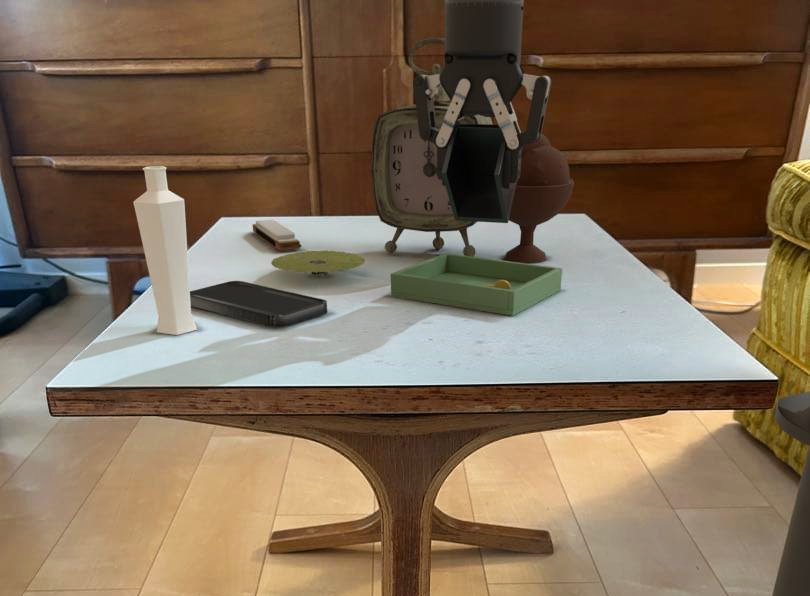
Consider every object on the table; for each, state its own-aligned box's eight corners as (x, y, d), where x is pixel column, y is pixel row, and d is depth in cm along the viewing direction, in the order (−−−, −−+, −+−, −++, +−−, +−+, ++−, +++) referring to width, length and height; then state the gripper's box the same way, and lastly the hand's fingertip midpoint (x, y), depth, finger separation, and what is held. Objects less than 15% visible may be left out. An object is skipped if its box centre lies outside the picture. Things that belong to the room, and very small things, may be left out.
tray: (560, 290, 100) (562, 268, 99) (512, 316, 91) (514, 291, 90) (445, 273, 107) (445, 252, 106) (390, 296, 98) (390, 273, 97)
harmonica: (301, 250, 119) (300, 235, 118) (279, 252, 118) (278, 237, 117) (273, 231, 131) (272, 217, 130) (253, 232, 130) (251, 218, 129)
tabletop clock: (373, 256, 116) (368, 38, 103) (393, 242, 123) (391, 37, 111) (480, 262, 112) (488, 37, 100) (494, 248, 120) (503, 37, 107)
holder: (518, 176, 97) (510, 124, 89) (508, 223, 96) (498, 174, 88) (465, 174, 99) (453, 123, 91) (454, 220, 97) (441, 172, 90)
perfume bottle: (146, 327, 88) (121, 166, 81) (189, 320, 90) (168, 163, 83) (160, 338, 85) (135, 172, 78) (204, 331, 87) (183, 168, 79)
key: (510, 279, 95) (509, 279, 95) (511, 295, 96) (510, 296, 95) (467, 282, 96) (467, 282, 96) (469, 298, 97) (468, 299, 97)
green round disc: (373, 267, 110) (372, 251, 109) (355, 289, 101) (355, 272, 100) (286, 264, 112) (285, 249, 111) (260, 286, 102) (259, 269, 101)
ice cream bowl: (467, 259, 114) (471, 132, 106) (516, 245, 121) (523, 126, 114) (535, 272, 108) (545, 138, 100) (583, 256, 115) (595, 130, 108)
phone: (277, 317, 87) (181, 293, 95) (278, 329, 87) (182, 303, 95) (332, 301, 92) (236, 279, 100) (332, 311, 92) (237, 289, 101)
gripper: (400, -1, 83) (402, 189, 91) (552, -3, 79) (539, 194, 88) (423, 1, 89) (423, 179, 98) (565, -1, 85) (552, 184, 94)
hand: (478, 185), depth 93 cm, fingers closed on holder, 6 cm apart
